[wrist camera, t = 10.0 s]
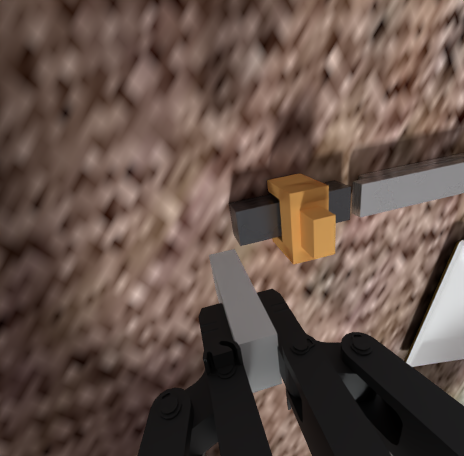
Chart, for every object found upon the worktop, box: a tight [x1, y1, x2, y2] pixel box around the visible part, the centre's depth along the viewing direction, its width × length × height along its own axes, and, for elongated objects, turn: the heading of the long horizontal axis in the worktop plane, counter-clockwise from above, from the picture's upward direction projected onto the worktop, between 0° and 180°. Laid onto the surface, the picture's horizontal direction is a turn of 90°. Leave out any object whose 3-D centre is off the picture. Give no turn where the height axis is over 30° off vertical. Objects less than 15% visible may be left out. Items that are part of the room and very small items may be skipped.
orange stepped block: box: [267, 173, 336, 264], centre depth 21 cm, size 3×6×6 cm, turn 8°
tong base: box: [229, 153, 464, 246], centre depth 26 cm, size 37×4×2 cm, turn 98°
